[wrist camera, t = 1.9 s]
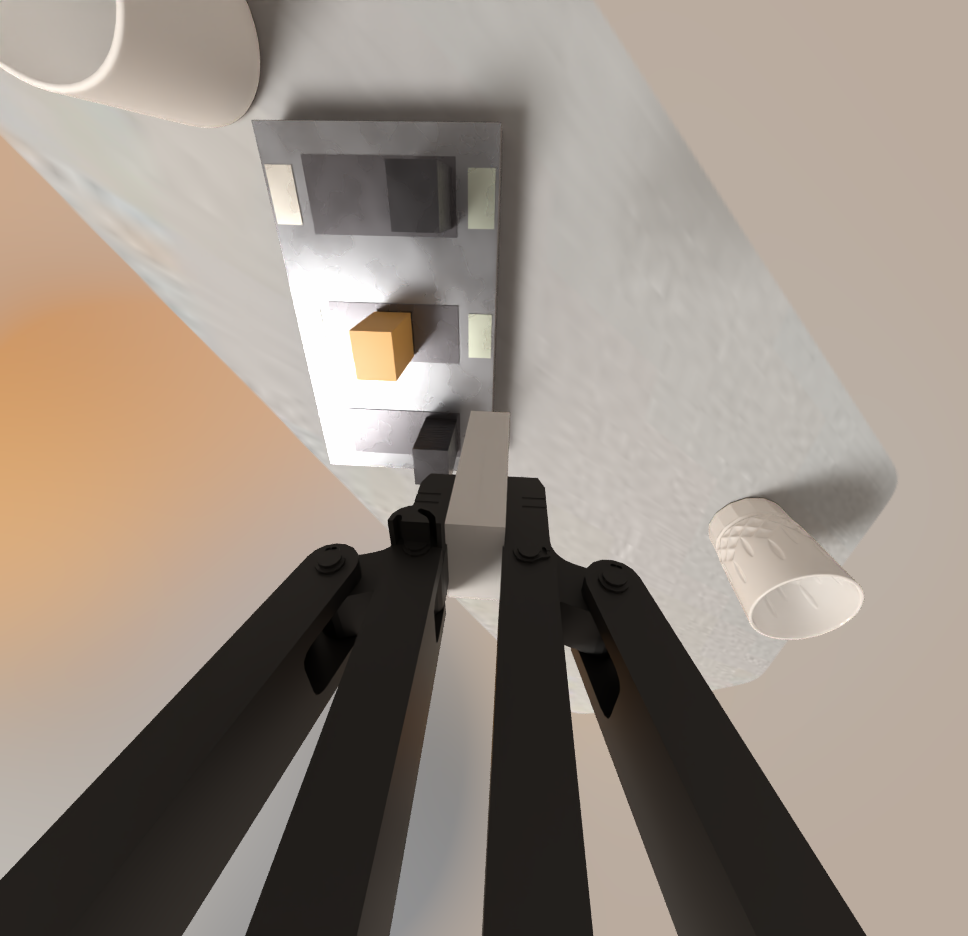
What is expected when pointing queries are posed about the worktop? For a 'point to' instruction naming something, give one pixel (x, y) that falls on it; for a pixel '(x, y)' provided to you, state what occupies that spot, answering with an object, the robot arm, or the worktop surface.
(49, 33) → the mug
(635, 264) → the worktop surface
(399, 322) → the toggle
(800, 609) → the white cup
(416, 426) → the panel
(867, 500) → the worktop surface
